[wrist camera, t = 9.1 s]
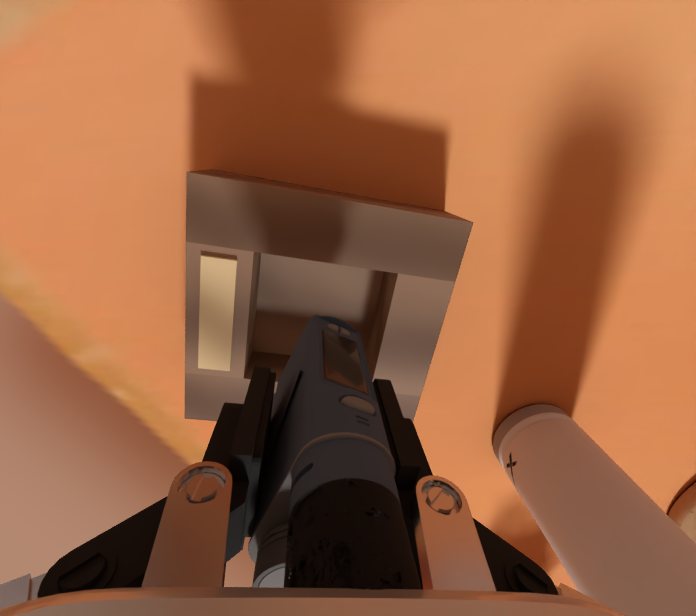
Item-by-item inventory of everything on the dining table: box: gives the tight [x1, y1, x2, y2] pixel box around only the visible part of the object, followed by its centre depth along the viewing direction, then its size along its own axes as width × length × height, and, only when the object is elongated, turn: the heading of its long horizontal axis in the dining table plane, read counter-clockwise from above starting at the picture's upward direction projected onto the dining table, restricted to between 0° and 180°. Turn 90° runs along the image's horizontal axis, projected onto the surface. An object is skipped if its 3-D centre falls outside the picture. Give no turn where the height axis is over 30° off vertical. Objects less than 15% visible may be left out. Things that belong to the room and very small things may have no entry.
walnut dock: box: [185, 170, 473, 422], centre depth 20 cm, size 13×13×4 cm
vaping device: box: [248, 314, 422, 590], centre depth 10 cm, size 3×5×12 cm, turn 153°
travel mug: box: [493, 404, 696, 616], centre depth 19 cm, size 6×7×20 cm
